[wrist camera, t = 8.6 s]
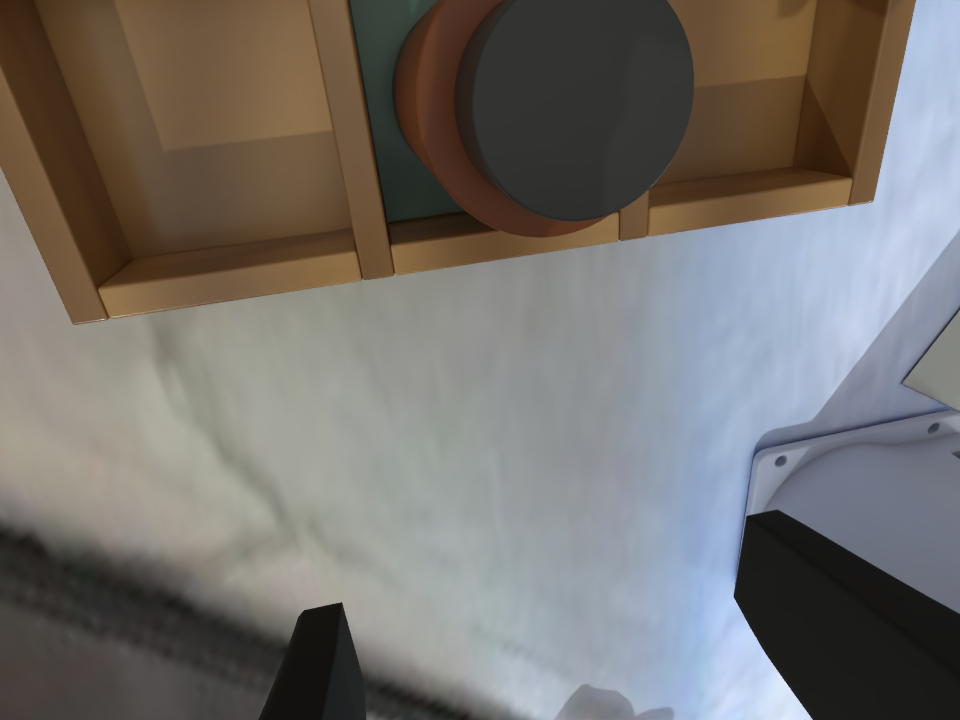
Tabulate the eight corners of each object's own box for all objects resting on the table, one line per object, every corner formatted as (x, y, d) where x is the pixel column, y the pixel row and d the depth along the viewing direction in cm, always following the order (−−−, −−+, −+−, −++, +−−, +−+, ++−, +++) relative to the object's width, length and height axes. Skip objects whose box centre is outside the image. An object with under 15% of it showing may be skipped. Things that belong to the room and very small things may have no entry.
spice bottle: (554, -13, 14) (752, -110, 7) (560, 171, 16) (720, 239, 9) (377, 4, 14) (400, -85, 6) (406, 192, 16) (447, 282, 8)
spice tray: (844, -103, 15) (948, -144, 12) (800, 186, 18) (874, 202, 16) (-11, -39, 12) (-111, -73, 10) (119, 285, 16) (72, 326, 13)
